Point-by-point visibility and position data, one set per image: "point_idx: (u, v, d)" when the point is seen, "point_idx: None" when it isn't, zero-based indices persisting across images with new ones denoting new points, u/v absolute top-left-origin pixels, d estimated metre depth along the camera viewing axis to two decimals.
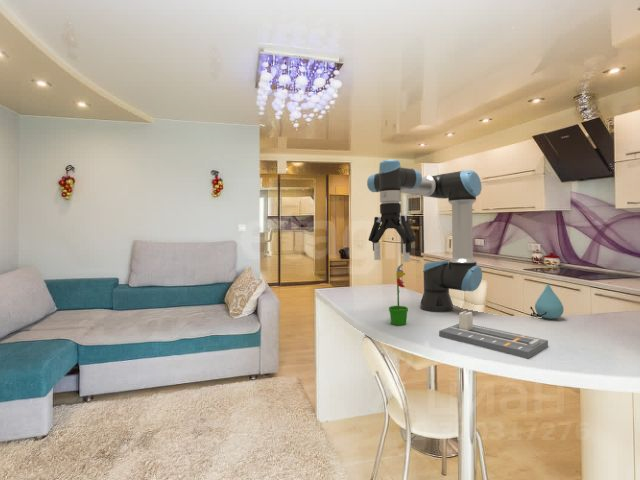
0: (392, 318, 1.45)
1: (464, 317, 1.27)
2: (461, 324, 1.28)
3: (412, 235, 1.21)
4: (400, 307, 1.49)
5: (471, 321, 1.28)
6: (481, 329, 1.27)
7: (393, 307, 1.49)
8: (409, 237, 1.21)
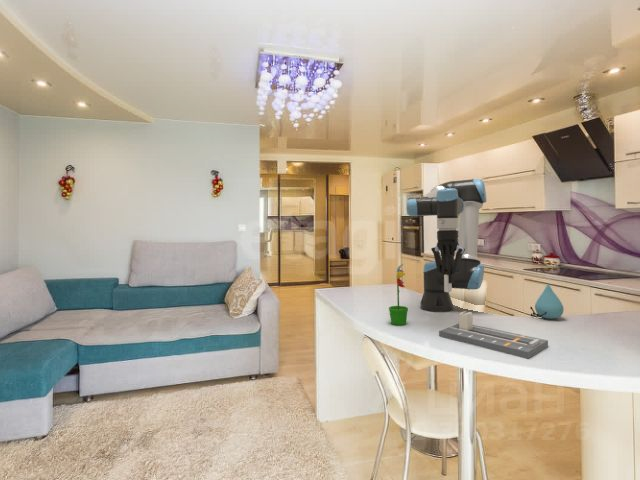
0: (392, 318, 1.45)
1: (464, 317, 1.27)
2: (461, 324, 1.28)
3: (457, 268, 1.30)
4: (400, 307, 1.49)
5: (471, 321, 1.28)
6: (481, 329, 1.27)
7: (393, 307, 1.49)
8: (454, 269, 1.30)
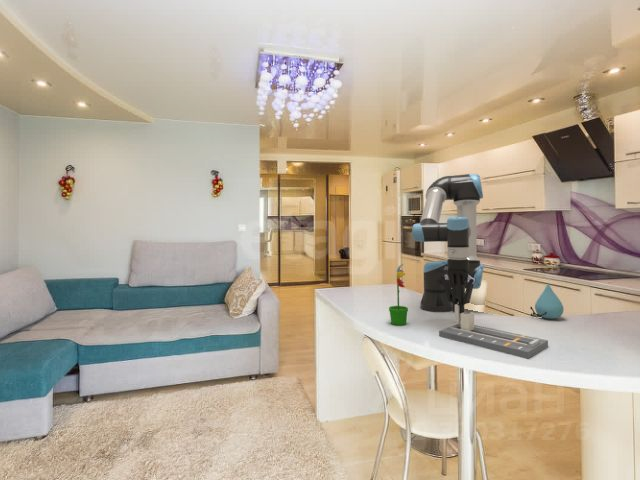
0: (392, 318, 1.45)
1: (466, 318, 1.26)
2: (463, 324, 1.27)
3: (468, 299, 1.27)
4: (400, 307, 1.49)
5: (473, 321, 1.28)
6: (481, 329, 1.27)
7: (393, 307, 1.49)
8: (465, 300, 1.27)
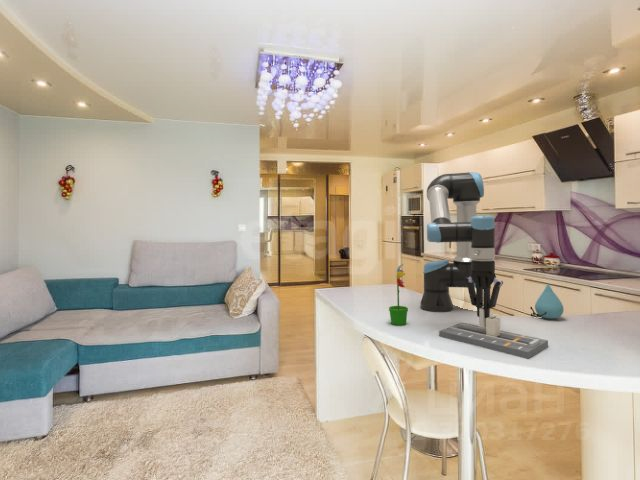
0: (392, 318, 1.45)
1: (492, 323, 1.19)
2: (488, 330, 1.20)
3: (494, 302, 1.20)
4: (400, 307, 1.49)
5: (499, 327, 1.21)
6: (481, 329, 1.27)
7: (393, 307, 1.49)
8: (491, 304, 1.20)
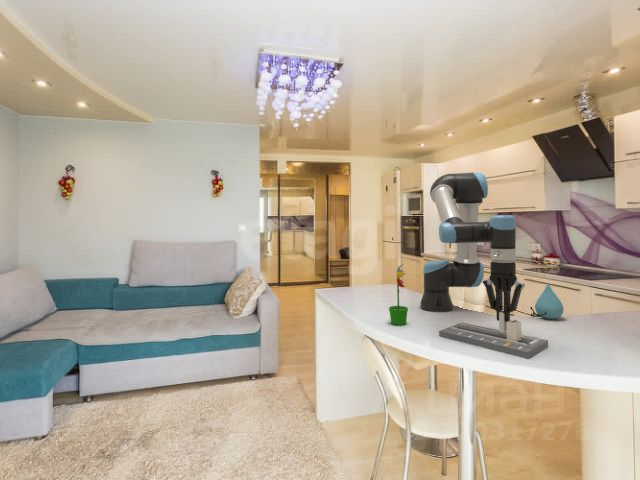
0: (392, 318, 1.45)
1: (513, 327, 1.14)
2: (509, 334, 1.15)
3: (515, 306, 1.15)
4: (400, 307, 1.49)
5: (520, 331, 1.15)
6: (481, 329, 1.27)
7: (393, 307, 1.49)
8: (512, 307, 1.15)
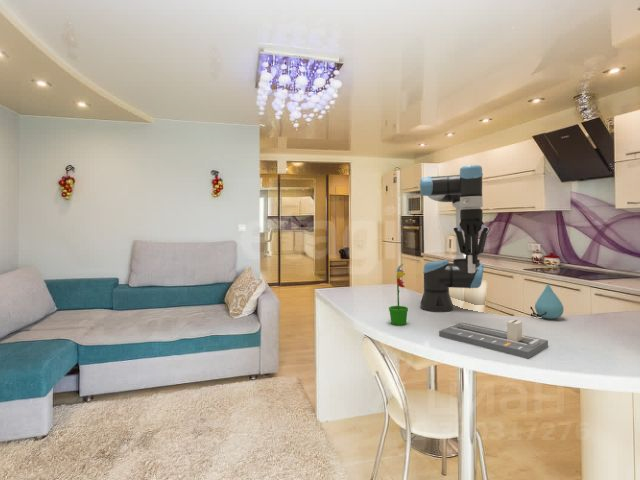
0: (392, 318, 1.45)
1: (513, 327, 1.14)
2: (510, 334, 1.15)
3: (482, 248, 1.26)
4: (400, 307, 1.49)
5: (521, 331, 1.15)
6: (481, 329, 1.27)
7: (393, 307, 1.49)
8: (479, 249, 1.25)
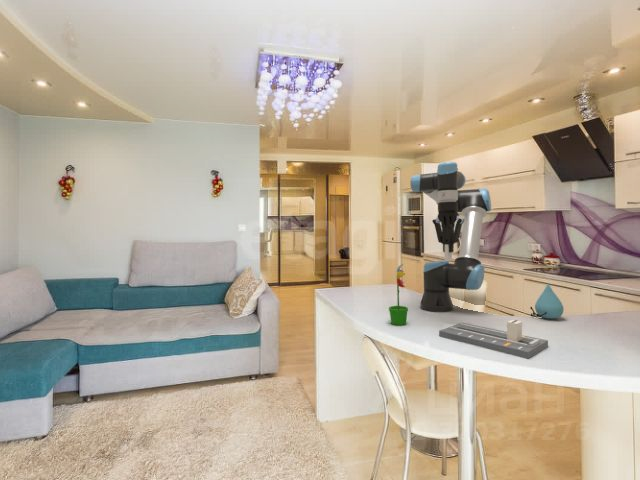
0: (392, 318, 1.45)
1: (513, 327, 1.14)
2: (510, 334, 1.15)
3: (457, 238, 1.38)
4: (400, 307, 1.49)
5: (521, 331, 1.15)
6: (481, 329, 1.27)
7: (393, 307, 1.49)
8: (454, 239, 1.37)
